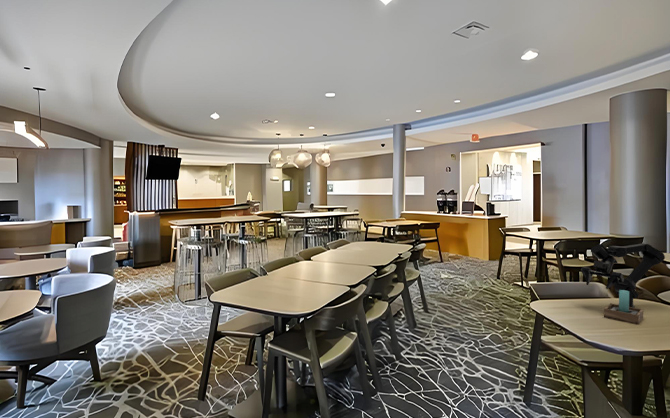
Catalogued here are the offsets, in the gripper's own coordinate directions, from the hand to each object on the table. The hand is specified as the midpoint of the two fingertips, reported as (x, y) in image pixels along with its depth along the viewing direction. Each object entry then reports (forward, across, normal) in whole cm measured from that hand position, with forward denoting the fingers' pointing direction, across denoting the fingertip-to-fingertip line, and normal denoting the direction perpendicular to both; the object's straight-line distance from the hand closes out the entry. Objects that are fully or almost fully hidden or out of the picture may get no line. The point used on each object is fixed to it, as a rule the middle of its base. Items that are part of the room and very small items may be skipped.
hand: (596, 286), depth 190 cm
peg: (+9, +12, +9) cm, 18 cm away
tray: (+9, +12, +10) cm, 18 cm away
